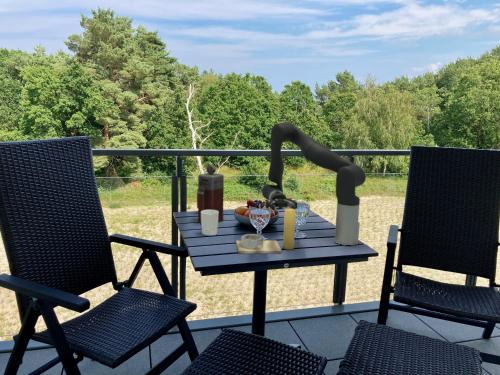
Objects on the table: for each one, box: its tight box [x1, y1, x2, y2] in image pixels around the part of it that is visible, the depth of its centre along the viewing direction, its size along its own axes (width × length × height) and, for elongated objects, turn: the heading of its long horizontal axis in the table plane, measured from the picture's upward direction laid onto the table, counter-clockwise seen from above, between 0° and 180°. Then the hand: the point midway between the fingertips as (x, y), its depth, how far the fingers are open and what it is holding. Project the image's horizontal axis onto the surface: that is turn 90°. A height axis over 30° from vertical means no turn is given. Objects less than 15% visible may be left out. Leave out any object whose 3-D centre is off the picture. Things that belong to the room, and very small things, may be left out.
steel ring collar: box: [240, 233, 264, 249], centre depth 176 cm, size 9×9×4 cm
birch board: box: [235, 239, 283, 255], centre depth 177 cm, size 17×13×1 cm
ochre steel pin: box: [282, 208, 297, 250], centre depth 177 cm, size 4×4×16 cm
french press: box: [196, 164, 225, 224], centre depth 210 cm, size 9×11×28 cm
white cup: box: [200, 210, 219, 236], centre depth 193 cm, size 8×8×10 cm
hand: (284, 208), depth 188 cm, fingers open, 8 cm apart
